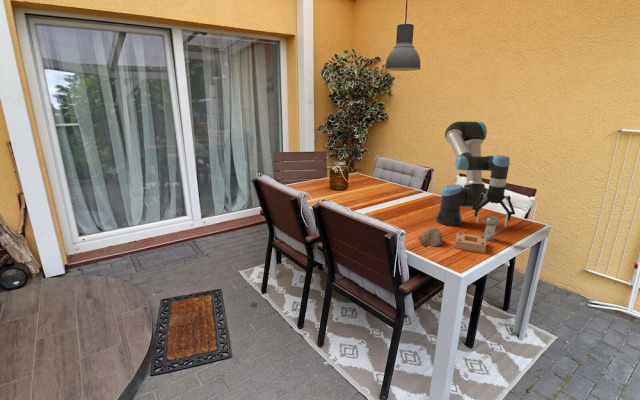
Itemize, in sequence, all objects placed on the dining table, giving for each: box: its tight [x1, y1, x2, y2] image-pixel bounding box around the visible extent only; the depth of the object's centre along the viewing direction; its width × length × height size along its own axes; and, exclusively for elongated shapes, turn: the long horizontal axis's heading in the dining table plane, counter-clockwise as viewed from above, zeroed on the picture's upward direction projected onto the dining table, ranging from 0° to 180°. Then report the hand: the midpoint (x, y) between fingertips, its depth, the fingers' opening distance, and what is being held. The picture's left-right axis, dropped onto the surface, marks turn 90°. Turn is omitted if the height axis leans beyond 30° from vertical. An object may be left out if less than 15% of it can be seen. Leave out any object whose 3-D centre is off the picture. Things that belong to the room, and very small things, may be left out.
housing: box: [454, 232, 487, 254], centre depth 170 cm, size 14×12×6 cm
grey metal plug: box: [483, 215, 499, 242], centre depth 178 cm, size 6×6×13 cm
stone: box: [418, 227, 444, 247], centre depth 175 cm, size 12×9×10 cm
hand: (490, 224), depth 177 cm, fingers open, 13 cm apart
